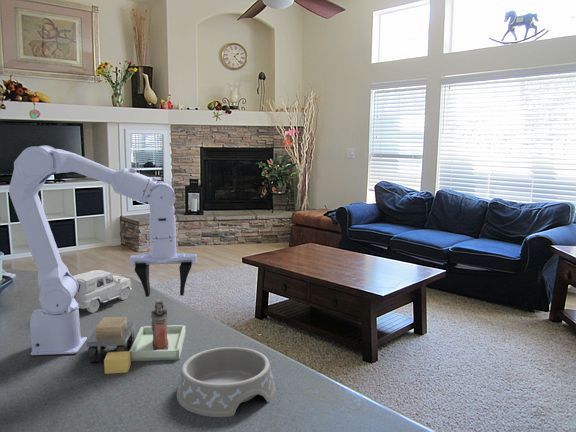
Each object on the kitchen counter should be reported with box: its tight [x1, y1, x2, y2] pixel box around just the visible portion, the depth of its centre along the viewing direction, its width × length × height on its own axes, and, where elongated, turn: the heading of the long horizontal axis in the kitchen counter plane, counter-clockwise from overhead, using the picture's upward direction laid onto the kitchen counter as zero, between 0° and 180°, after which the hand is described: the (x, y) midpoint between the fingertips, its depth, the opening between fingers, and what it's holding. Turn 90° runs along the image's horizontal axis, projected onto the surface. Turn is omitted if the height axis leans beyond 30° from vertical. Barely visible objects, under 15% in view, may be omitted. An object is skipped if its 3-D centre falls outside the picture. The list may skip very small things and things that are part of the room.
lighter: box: [150, 299, 168, 350], centre depth 109 cm, size 8×3×10 cm, turn 16°
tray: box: [129, 324, 187, 362], centre depth 111 cm, size 10×14×2 cm
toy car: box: [72, 269, 133, 314], centre depth 138 cm, size 10×20×10 cm, turn 156°
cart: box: [86, 316, 136, 363], centre depth 107 cm, size 8×11×7 cm
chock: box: [103, 350, 132, 375], centre depth 100 cm, size 4×4×3 cm
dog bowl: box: [175, 346, 277, 418], centre depth 92 cm, size 17×18×5 cm
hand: (165, 294), depth 114 cm, fingers open, 7 cm apart
